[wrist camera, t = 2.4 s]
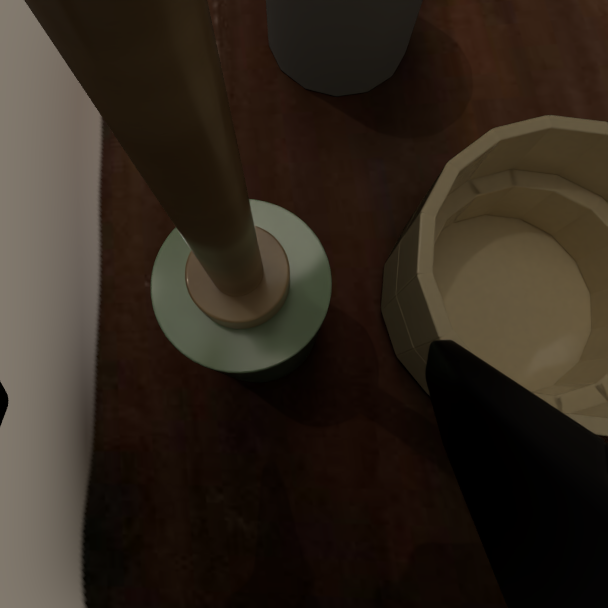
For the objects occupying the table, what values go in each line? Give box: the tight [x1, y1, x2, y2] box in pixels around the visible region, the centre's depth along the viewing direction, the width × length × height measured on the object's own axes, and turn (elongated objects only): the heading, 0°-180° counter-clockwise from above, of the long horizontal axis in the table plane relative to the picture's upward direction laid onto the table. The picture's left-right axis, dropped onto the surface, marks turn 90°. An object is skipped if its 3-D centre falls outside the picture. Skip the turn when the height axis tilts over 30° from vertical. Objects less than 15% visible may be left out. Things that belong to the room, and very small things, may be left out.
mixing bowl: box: [381, 115, 608, 436], centre depth 19 cm, size 12×12×7 cm
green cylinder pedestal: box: [151, 199, 332, 383], centre depth 18 cm, size 6×6×8 cm
